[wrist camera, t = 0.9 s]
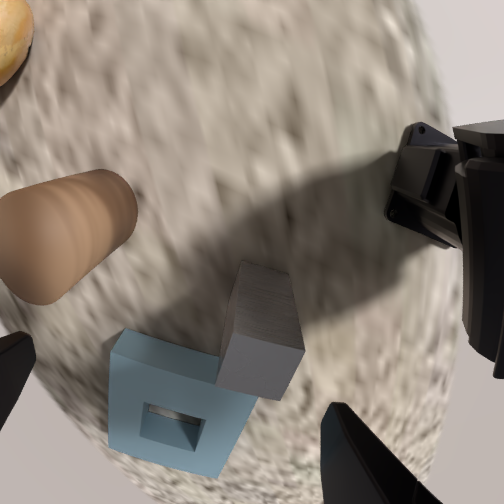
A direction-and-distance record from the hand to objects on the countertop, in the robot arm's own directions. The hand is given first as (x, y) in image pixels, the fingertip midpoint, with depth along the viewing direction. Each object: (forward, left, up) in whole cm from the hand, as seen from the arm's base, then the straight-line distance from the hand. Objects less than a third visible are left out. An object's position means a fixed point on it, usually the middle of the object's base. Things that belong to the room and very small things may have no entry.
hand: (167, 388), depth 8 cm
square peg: (-3, +2, -12) cm, 13 cm away
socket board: (0, +14, -12) cm, 18 cm away
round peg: (+8, 0, -12) cm, 15 cm away
